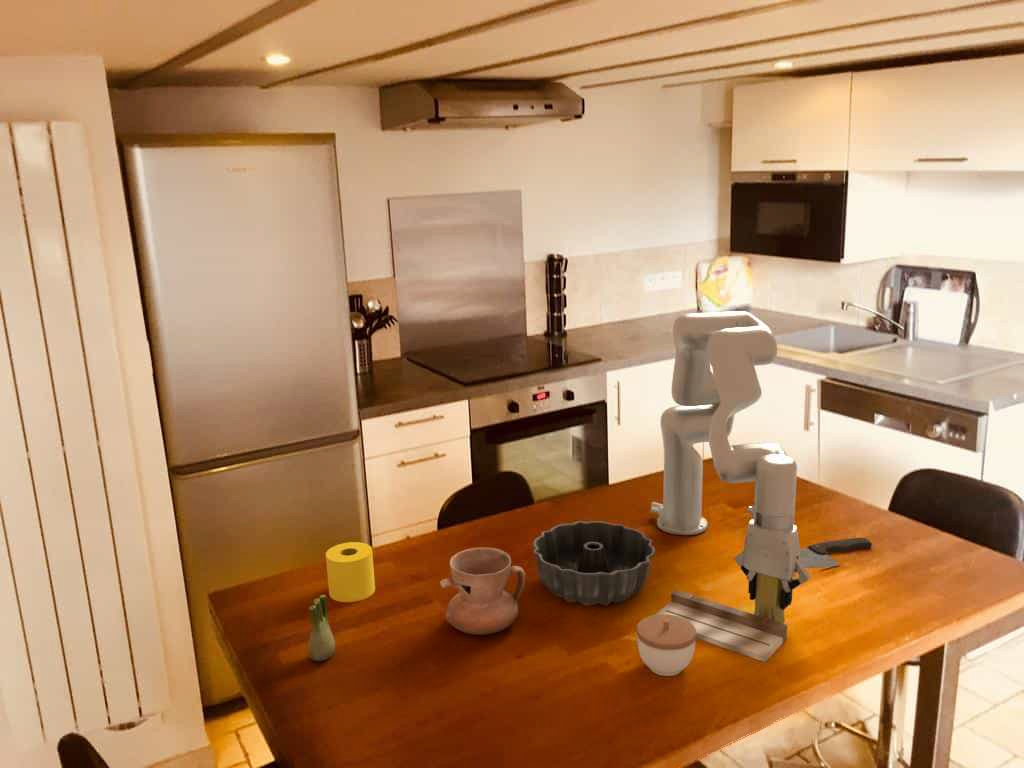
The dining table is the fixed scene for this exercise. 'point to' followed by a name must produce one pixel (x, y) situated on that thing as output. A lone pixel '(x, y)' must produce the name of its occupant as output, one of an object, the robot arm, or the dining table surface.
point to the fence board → (728, 626)
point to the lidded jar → (666, 643)
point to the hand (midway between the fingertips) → (769, 601)
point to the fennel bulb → (320, 632)
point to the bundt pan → (593, 561)
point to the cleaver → (818, 552)
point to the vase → (768, 598)
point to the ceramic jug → (482, 591)
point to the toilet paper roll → (350, 572)
